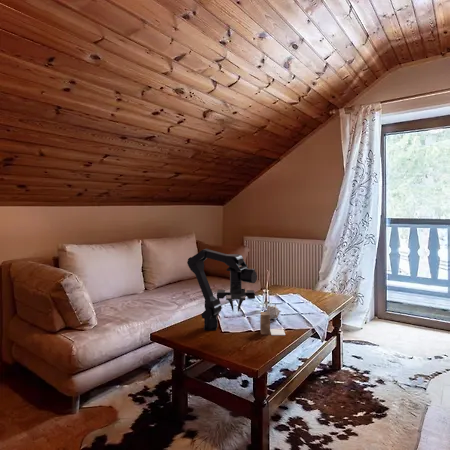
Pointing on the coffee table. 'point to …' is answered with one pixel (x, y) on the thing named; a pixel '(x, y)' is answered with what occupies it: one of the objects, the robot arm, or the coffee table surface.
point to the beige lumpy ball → (273, 311)
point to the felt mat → (277, 332)
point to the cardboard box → (265, 323)
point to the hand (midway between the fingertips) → (235, 311)
